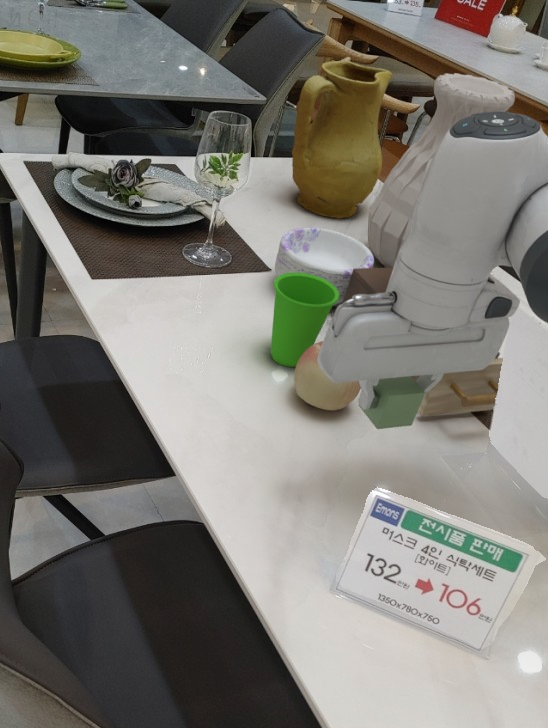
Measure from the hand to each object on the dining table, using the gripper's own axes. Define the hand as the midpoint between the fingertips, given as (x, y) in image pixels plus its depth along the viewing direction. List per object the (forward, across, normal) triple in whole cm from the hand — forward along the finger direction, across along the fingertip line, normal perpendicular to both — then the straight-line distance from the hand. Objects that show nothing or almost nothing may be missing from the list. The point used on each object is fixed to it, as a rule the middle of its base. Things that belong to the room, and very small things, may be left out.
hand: (389, 403), depth 86 cm
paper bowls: (+11, +15, +44) cm, 48 cm away
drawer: (+10, +20, +14) cm, 26 cm away
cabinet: (+11, +20, +26) cm, 35 cm away
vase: (+11, +38, +52) cm, 65 cm away
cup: (+11, +2, +26) cm, 28 cm away
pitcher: (+11, +33, +79) cm, 86 cm away
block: (+2, 0, 0) cm, 2 cm away
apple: (+11, +2, +15) cm, 19 cm away
